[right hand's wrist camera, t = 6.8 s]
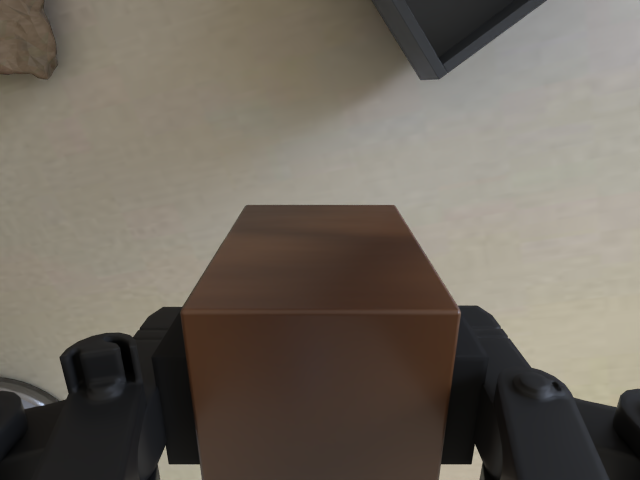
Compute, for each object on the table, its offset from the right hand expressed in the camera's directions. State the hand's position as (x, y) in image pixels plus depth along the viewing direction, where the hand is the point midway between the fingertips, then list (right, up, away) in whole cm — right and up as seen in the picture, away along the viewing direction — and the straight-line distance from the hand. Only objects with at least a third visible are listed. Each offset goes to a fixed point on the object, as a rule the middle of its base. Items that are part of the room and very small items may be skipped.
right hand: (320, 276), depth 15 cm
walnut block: (0, 0, 0) cm, 0 cm away
